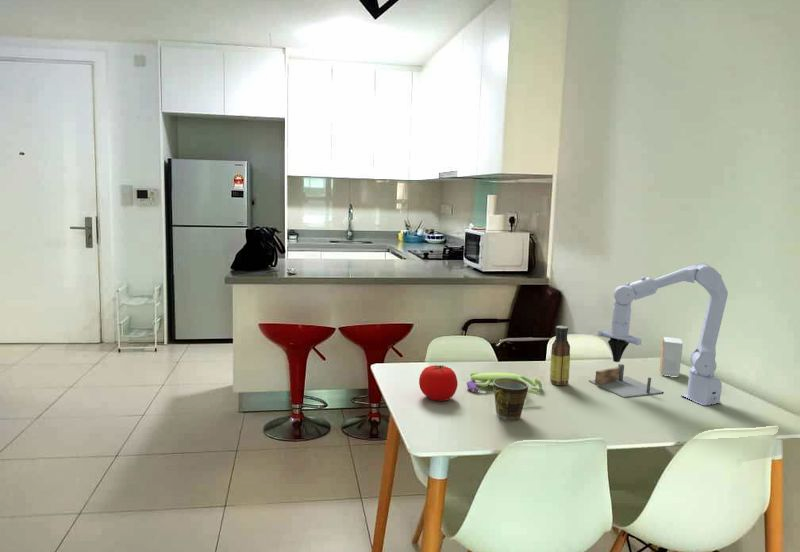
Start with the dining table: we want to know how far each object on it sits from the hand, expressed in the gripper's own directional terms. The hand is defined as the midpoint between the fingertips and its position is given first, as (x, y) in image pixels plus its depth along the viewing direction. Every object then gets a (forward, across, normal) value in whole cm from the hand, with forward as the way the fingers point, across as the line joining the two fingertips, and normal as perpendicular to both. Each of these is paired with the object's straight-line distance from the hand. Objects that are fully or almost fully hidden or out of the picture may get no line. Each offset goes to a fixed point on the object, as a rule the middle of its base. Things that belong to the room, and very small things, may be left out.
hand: (616, 361), depth 208 cm
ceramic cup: (+10, +6, +52) cm, 53 cm away
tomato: (+10, +29, +56) cm, 64 cm away
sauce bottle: (+10, +14, +12) cm, 21 cm away
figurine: (+10, +21, +32) cm, 40 cm away
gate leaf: (+9, +4, -2) cm, 10 cm away
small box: (+10, -4, -33) cm, 34 cm away
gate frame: (+9, -2, -4) cm, 11 cm away
